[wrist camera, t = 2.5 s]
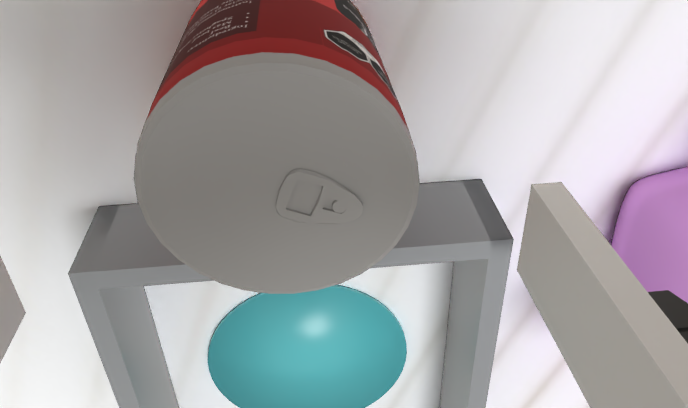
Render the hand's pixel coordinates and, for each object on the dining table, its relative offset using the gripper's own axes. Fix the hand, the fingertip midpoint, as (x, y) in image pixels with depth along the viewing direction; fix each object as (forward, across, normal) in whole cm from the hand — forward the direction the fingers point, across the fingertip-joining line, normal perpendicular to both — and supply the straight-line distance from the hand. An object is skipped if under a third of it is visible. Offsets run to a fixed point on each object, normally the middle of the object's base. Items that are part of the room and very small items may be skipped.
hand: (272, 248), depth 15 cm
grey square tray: (+13, 0, -19) cm, 23 cm away
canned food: (+13, 0, 0) cm, 13 cm away
